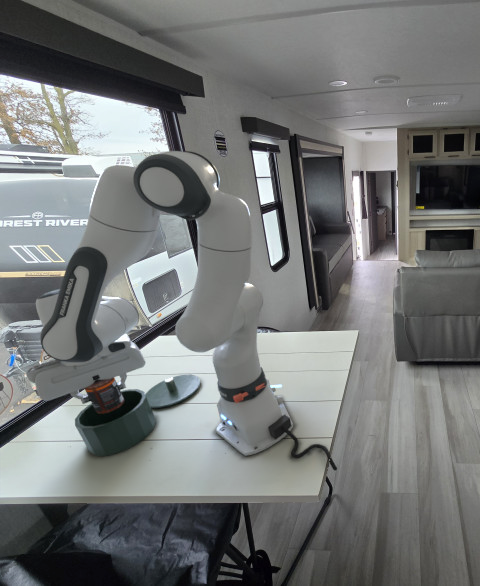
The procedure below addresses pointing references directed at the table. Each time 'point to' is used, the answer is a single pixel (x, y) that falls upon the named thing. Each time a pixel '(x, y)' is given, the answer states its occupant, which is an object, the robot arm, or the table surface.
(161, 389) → the tin lid
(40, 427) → the table surface
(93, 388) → the supplement bottle
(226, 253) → the robot arm
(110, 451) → the waste tin
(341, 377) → the table surface
